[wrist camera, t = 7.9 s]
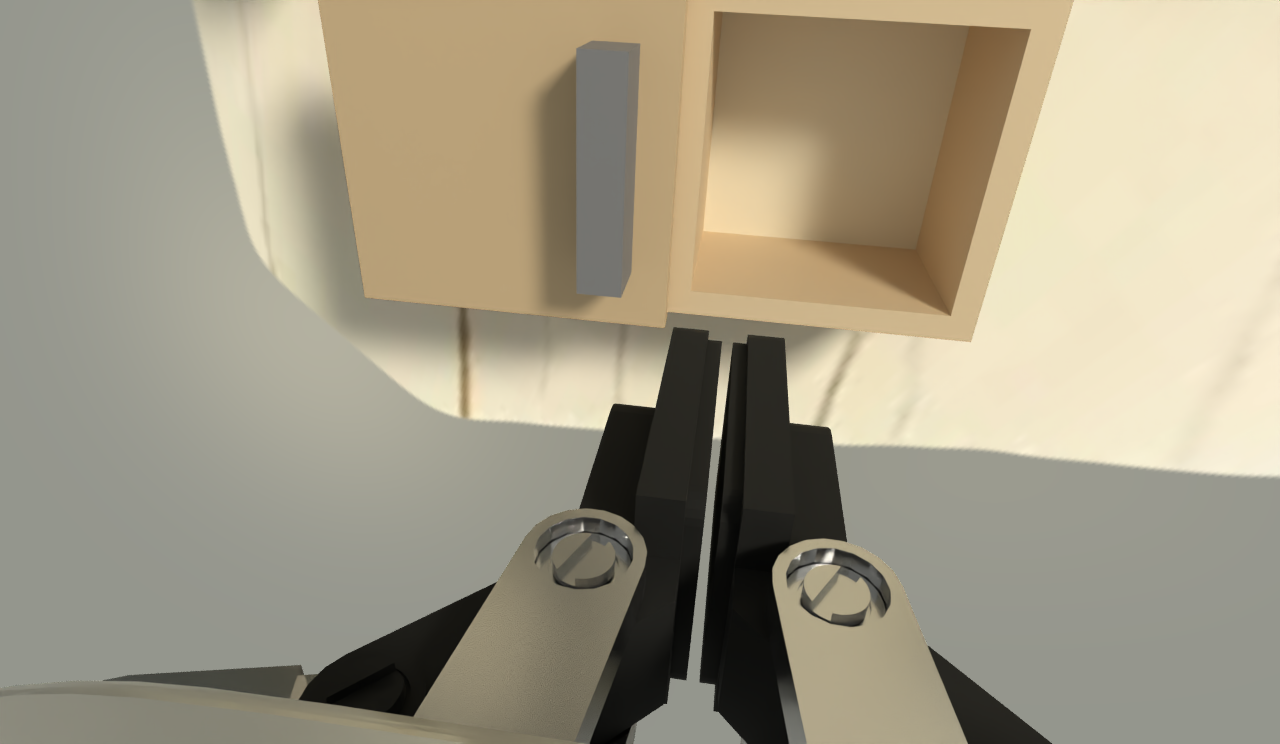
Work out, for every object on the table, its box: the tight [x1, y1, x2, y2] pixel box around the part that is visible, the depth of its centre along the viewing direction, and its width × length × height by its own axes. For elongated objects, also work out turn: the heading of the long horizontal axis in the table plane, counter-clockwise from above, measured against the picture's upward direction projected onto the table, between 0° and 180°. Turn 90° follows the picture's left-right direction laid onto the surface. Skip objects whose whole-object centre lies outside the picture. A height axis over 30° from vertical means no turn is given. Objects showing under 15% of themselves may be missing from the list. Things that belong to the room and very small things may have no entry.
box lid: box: [318, 0, 688, 328], centre depth 26 cm, size 12×12×3 cm
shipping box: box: [667, 0, 1074, 342], centre depth 30 cm, size 12×12×8 cm
